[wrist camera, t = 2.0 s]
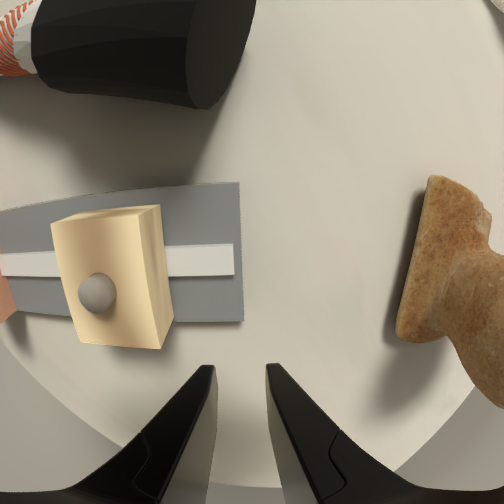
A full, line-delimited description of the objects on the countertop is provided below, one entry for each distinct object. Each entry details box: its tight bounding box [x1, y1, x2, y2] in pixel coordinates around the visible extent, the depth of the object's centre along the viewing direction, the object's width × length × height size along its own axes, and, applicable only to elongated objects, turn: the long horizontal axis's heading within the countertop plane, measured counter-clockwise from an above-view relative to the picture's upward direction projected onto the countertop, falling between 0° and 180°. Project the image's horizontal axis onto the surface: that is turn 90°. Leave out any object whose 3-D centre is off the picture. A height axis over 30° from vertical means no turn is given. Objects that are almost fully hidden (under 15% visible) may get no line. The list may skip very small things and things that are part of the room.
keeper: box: [50, 204, 174, 349], centre depth 15 cm, size 6×8×5 cm
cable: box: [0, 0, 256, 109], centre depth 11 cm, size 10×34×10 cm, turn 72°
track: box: [0, 182, 244, 324], centre depth 17 cm, size 26×10×6 cm, turn 91°
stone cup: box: [395, 175, 504, 409], centre depth 14 cm, size 15×12×15 cm
